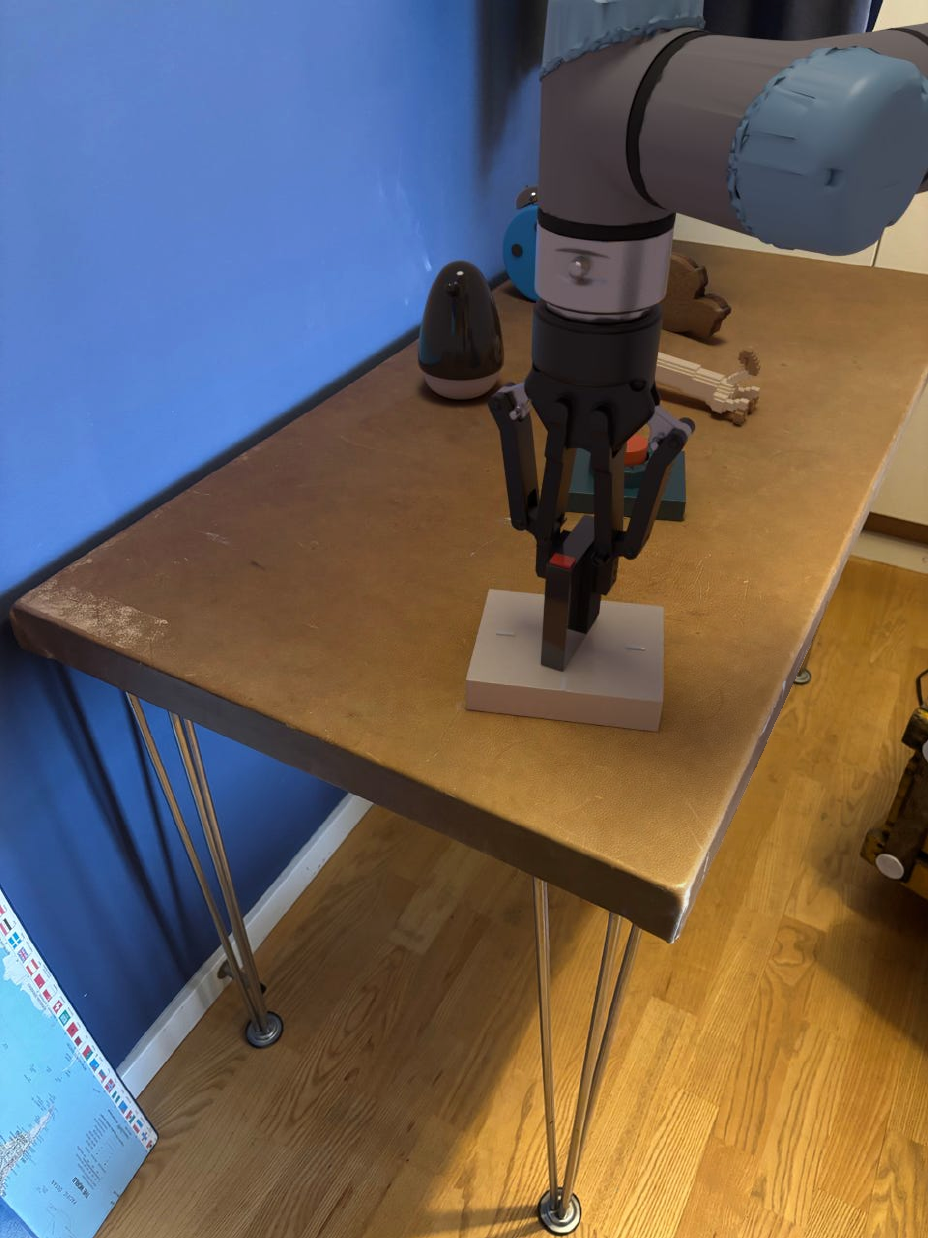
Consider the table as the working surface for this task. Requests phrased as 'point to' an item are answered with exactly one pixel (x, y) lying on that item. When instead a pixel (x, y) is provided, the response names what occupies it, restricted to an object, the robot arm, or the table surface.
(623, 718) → the plate
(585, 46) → the robot arm
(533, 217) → the alarm clock
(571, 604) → the tap handle
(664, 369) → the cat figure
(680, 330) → the wooden carving
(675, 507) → the button block
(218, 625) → the table surface
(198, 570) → the table surface
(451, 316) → the dark egg shaped device
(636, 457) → the button
